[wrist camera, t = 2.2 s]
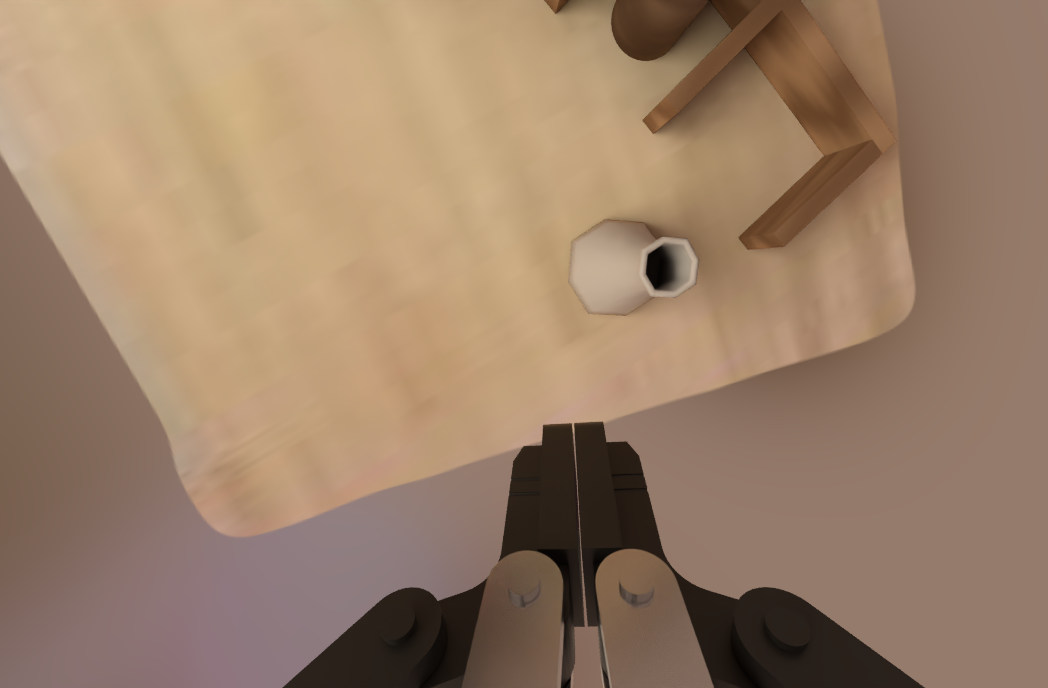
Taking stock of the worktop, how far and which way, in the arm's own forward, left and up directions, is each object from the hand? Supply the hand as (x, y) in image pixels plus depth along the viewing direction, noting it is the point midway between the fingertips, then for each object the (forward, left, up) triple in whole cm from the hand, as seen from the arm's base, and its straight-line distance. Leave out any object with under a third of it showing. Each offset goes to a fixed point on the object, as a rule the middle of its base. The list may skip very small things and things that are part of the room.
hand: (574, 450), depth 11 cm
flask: (+2, +8, -21) cm, 23 cm away
